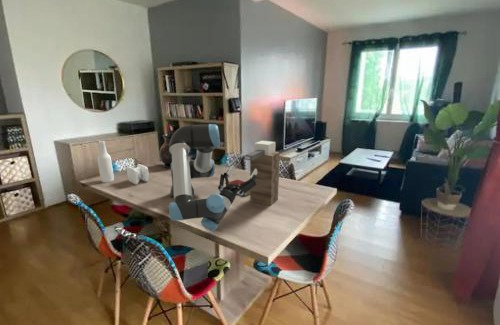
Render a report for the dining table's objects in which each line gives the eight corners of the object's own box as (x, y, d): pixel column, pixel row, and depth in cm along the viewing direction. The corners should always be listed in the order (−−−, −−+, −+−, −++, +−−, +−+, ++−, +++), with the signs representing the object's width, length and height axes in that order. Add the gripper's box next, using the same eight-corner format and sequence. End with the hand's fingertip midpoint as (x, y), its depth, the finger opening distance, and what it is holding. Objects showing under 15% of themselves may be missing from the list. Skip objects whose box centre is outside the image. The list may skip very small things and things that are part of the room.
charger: (254, 161, 135) (254, 150, 133) (239, 159, 139) (239, 148, 138) (275, 152, 155) (275, 142, 154) (261, 150, 160) (261, 140, 158)
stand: (270, 205, 154) (272, 156, 146) (250, 200, 161) (250, 153, 153) (278, 199, 163) (279, 152, 155) (258, 195, 170) (258, 149, 161)
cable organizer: (127, 180, 196) (125, 166, 193) (141, 177, 204) (139, 163, 201) (136, 185, 187) (134, 170, 183) (150, 182, 194) (148, 166, 191)
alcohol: (100, 180, 197) (93, 141, 189) (112, 178, 202) (107, 139, 194) (102, 183, 191) (95, 142, 183) (115, 181, 196) (109, 141, 188)
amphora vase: (188, 167, 231) (186, 135, 223) (163, 171, 220) (160, 137, 212) (181, 161, 248) (178, 132, 241) (157, 165, 237) (154, 134, 230)
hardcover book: (237, 184, 191) (237, 178, 190) (258, 191, 176) (259, 185, 175) (224, 188, 183) (224, 182, 181) (246, 196, 168) (246, 190, 167)
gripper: (206, 199, 132) (227, 170, 145) (249, 210, 120) (268, 177, 132) (201, 189, 127) (223, 160, 140) (245, 200, 115) (264, 166, 128)
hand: (245, 168), depth 136 cm, fingers open, 13 cm apart
